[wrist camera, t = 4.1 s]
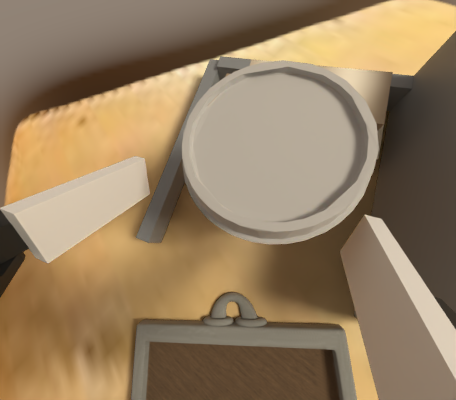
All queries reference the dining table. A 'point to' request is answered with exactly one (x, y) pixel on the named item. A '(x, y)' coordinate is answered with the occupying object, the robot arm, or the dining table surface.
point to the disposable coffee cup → (279, 152)
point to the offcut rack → (380, 168)
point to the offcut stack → (365, 90)
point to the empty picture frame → (240, 358)
